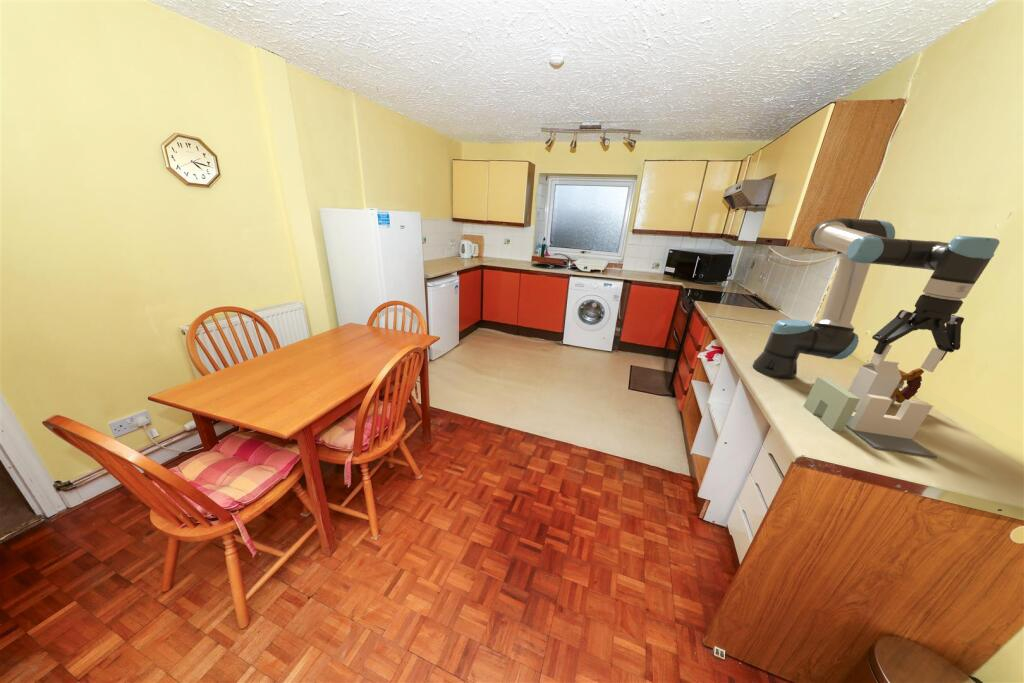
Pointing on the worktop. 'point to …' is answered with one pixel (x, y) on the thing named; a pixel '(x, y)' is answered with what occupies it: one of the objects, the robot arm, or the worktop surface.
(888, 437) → the notched wall on base
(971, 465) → the worktop surface
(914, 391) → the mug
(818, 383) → the pale green tall block
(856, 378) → the milk carton
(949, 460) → the worktop surface
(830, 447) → the worktop surface
